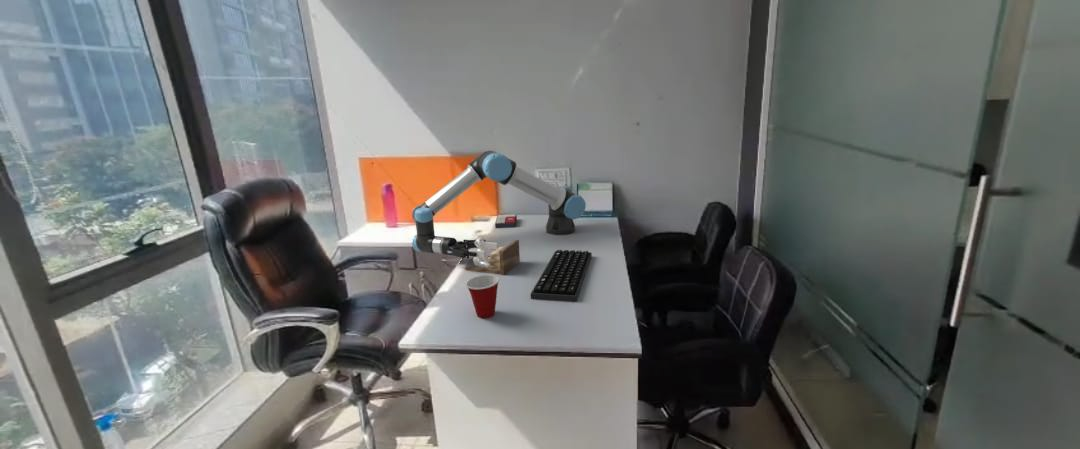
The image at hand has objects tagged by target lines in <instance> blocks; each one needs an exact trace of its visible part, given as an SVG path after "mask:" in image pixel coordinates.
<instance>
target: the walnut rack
mask: <svg viewBox="0 0 1080 449" xmlns="http://www.w3.org/2000/svg"><path fill="white" fill-rule="evenodd" d="M503 247H504V248H503V249H501V250H500V251H499V257H500V270H498V269H490V268H481V267H477V266H472V265H465V267H464V270H465V271H471V272H479V273H486V274H487V273H488V274H493V275H500V276H505V275H506V274H508V273H509V272H510V271H511V270H512V269H514V268H515V267H516V266H517V265H519V264H520V262H521V259H520V258H521V257H520V240H519V239H515V240H512V241H511V242H510V243H509V244H506V246H503ZM488 257H491V255H488Z"/></svg>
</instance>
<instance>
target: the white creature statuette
mask: <svg viewBox="0 0 1080 449" xmlns="http://www.w3.org/2000/svg"><path fill="white" fill-rule="evenodd" d="M483 239H484V238H483V237H479V238H477V239H475V240H476V241H475V242H474V244H475V245H476V247H477V248H476V250H477V251H485V258H477V257H472V261H473V264H474V265H475V267H481V268H490V266H491V257H488V256H489V255H488V252H487V249H486V248H485V247H486V246H485V242H486V241H485V242H484V240H485V239H484V240H483Z"/></svg>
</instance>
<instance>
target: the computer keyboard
mask: <svg viewBox="0 0 1080 449" xmlns="http://www.w3.org/2000/svg"><path fill="white" fill-rule="evenodd" d="M592 255H593V253H592V252H589V250H575V249H574V250H573V249H571V250H569V249H565V250H563V249H556V250H555V251H554V252H553V255H552V256H551V258H550V260H549V261H548V263H547V265H546V266H545V269H544V270H543V272H542V273H541V275H540V276H539V278H538V281H537V282H536V284H535V285H534V287H533V288H532V290H531V292H530V299H531V300H537V301H538V300H539V301H541V300H542V301H554V302H570V303H571V302H573V303H577V301H578V297H579V296H580V292H581V289H582V286H583V283H584V280H585V278H586V275H587V272H588V269H589V266H590V263H591V260H592V257H593V256H592Z"/></svg>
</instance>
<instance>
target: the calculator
mask: <svg viewBox="0 0 1080 449" xmlns="http://www.w3.org/2000/svg"><path fill="white" fill-rule="evenodd" d="M517 221H518V218H517V214H498V215H497V216H496V219H495V224H494V225H495V226H494V227H495V229H509V228H510V229H514V228H517Z"/></svg>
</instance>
